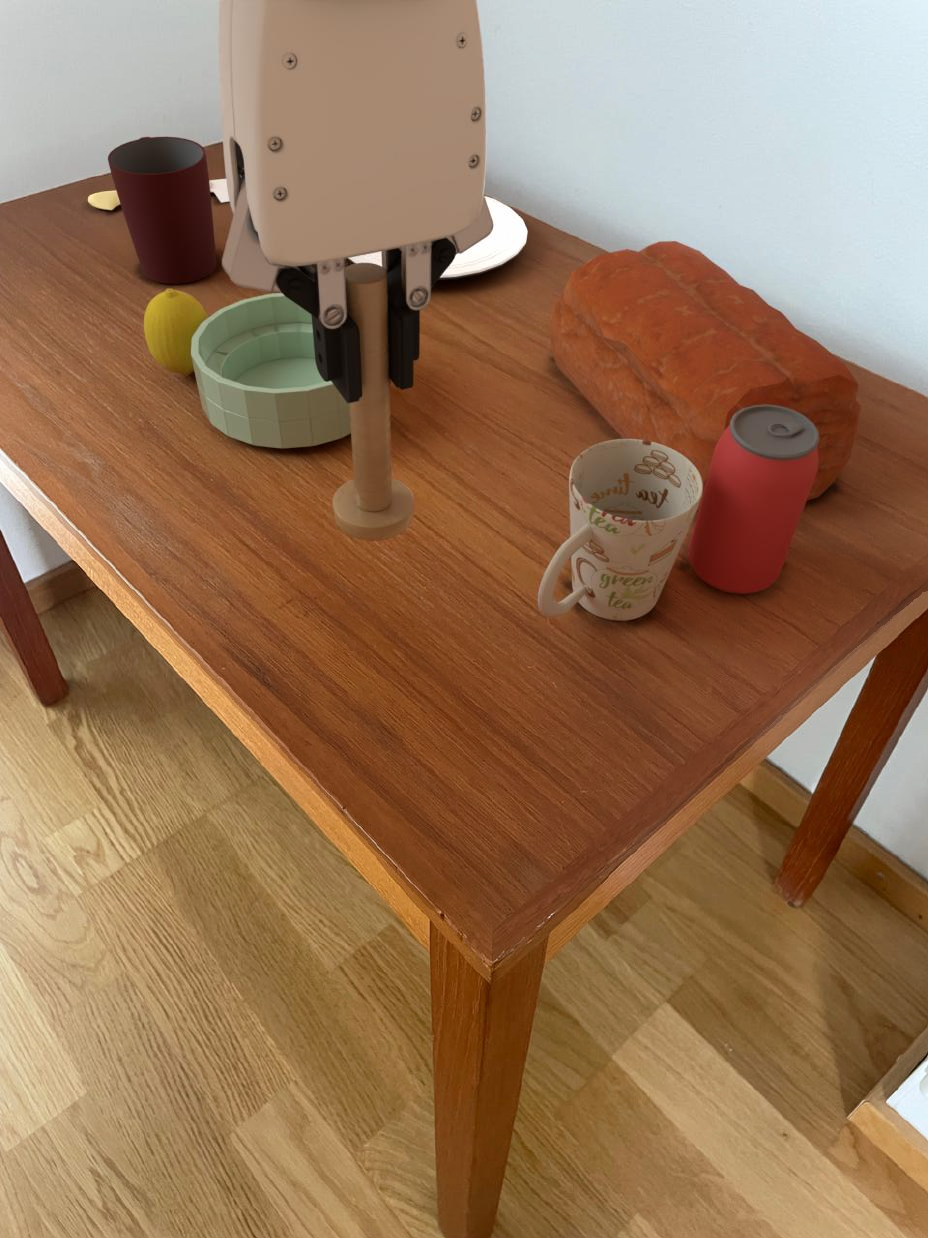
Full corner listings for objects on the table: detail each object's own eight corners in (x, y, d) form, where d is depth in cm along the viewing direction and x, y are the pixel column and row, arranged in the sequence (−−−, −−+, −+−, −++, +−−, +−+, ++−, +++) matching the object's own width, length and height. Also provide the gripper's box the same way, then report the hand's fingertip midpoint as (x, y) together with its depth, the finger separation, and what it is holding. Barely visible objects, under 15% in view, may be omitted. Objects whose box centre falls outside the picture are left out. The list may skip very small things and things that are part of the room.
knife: (382, 177, 113) (371, 155, 115) (90, 213, 105) (85, 189, 107) (382, 187, 114) (371, 165, 116) (93, 223, 106) (87, 199, 108)
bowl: (237, 476, 75) (225, 411, 71) (182, 378, 85) (168, 315, 80) (413, 426, 80) (412, 363, 76) (343, 338, 90) (338, 277, 85)
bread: (675, 323, 93) (697, 214, 85) (860, 486, 76) (908, 369, 68) (531, 356, 88) (540, 244, 80) (695, 538, 72) (726, 419, 64)
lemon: (213, 392, 83) (196, 307, 77) (148, 391, 83) (127, 305, 77) (224, 358, 87) (209, 274, 81) (163, 356, 87) (143, 272, 81)
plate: (302, 277, 97) (300, 259, 96) (365, 192, 111) (364, 176, 110) (504, 306, 94) (505, 288, 93) (543, 215, 108) (544, 198, 107)
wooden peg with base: (352, 550, 51) (337, 305, 41) (321, 501, 53) (299, 259, 43) (427, 527, 52) (431, 285, 42) (393, 480, 55) (389, 242, 45)
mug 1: (121, 242, 102) (94, 132, 94) (205, 228, 104) (185, 119, 96) (144, 295, 94) (117, 180, 86) (233, 278, 97) (215, 165, 89)
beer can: (796, 588, 68) (849, 451, 59) (711, 606, 67) (753, 468, 58) (751, 528, 72) (794, 392, 64) (671, 544, 71) (704, 407, 62)
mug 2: (698, 589, 68) (729, 477, 61) (588, 689, 62) (608, 577, 54) (603, 534, 72) (622, 422, 64) (491, 623, 65) (497, 510, 58)
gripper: (499, -114, 38) (477, 311, 52) (91, -90, 33) (184, 378, 46) (602, -70, 34) (548, 383, 47) (149, -33, 28) (234, 467, 42)
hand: (368, 378), depth 47 cm, fingers closed on wooden peg with base, 2 cm apart
